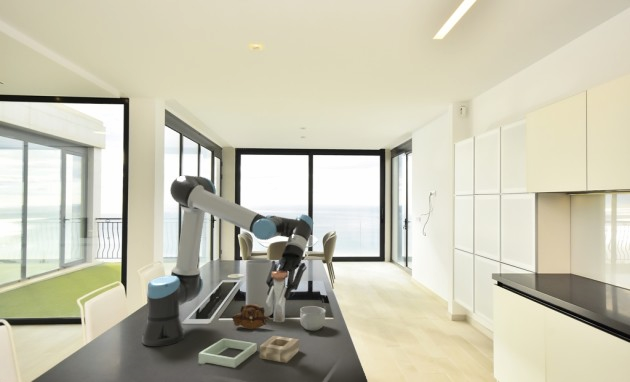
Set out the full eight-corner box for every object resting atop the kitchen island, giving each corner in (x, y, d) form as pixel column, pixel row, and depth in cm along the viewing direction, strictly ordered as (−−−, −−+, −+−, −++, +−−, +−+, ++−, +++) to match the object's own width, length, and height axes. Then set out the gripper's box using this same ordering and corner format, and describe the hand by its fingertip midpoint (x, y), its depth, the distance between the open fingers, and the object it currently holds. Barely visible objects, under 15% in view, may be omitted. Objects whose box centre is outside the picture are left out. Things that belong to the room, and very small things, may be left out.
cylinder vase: (268, 319, 166) (268, 264, 167) (241, 317, 169) (241, 263, 169) (275, 311, 179) (275, 259, 179) (251, 309, 181) (251, 258, 181)
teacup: (311, 322, 162) (311, 304, 163) (330, 327, 156) (330, 308, 156) (289, 331, 152) (289, 311, 152) (309, 337, 145) (309, 316, 145)
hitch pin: (268, 321, 125) (268, 272, 126) (275, 316, 131) (276, 270, 131) (282, 323, 123) (283, 274, 124) (289, 318, 129) (290, 271, 129)
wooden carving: (230, 329, 154) (230, 305, 154) (233, 325, 158) (233, 302, 158) (268, 331, 151) (268, 307, 151) (271, 327, 156) (271, 304, 156)
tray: (198, 363, 122) (198, 353, 122) (223, 347, 135) (223, 338, 135) (234, 370, 117) (234, 359, 117) (256, 353, 130) (256, 343, 130)
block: (259, 360, 124) (259, 346, 124) (273, 349, 133) (273, 335, 133) (286, 365, 120) (286, 350, 120) (298, 353, 129) (298, 339, 130)
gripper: (271, 242, 140) (248, 296, 124) (313, 244, 134) (294, 302, 118) (277, 254, 145) (255, 308, 129) (318, 257, 139) (300, 313, 123)
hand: (274, 305), depth 123 cm, fingers closed on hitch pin, 4 cm apart
